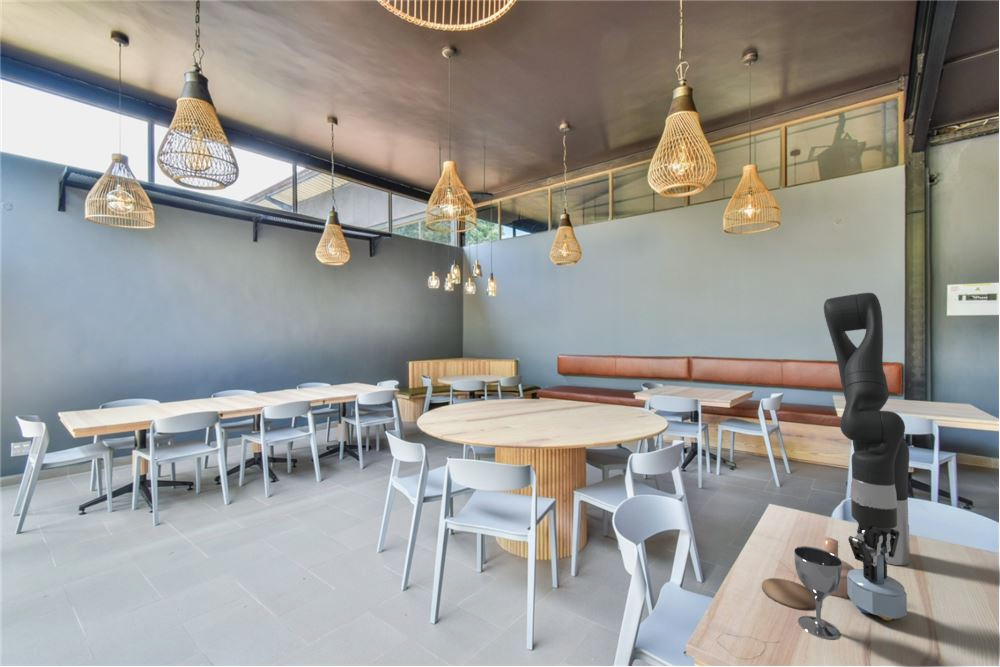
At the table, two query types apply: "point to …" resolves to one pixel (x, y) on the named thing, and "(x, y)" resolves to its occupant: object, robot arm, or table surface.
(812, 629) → the wine glass
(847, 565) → the terracotta cloche
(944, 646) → the table surface
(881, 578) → the slate cloche
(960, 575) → the table surface
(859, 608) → the marble inkblue
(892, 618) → the marble amber
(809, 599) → the disc
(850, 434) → the robot arm
